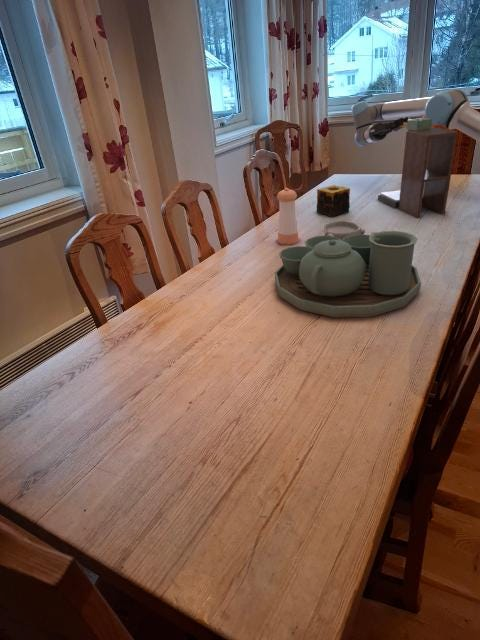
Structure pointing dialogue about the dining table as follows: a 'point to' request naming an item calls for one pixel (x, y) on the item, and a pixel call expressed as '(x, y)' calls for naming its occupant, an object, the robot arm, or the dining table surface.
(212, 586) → the dining table surface
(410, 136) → the shelf
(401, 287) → the tea set
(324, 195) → the candle
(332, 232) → the dish
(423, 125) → the scoop
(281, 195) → the pepper shaker
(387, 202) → the whiteboard
